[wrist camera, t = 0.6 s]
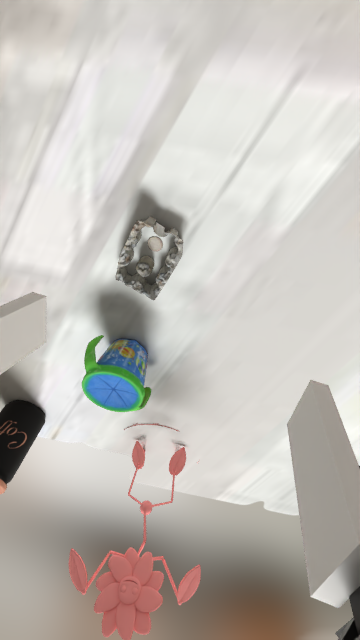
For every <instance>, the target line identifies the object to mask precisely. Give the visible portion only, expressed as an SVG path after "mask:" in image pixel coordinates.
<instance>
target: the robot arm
mask: <svg viewBox="0 0 360 640" xmlns="http://www.w3.org/2000/svg"><path fill="white" fill-rule="evenodd" d="M45 343H46V296H44V295H40V294H37V293H34V292H32V293H30V294H27V295H25V296H23V297H20V298H18V299H16V300H13V301H11V302H9V303H6V304H4V305H2V306H0V375H1V374H2V373H4V372H5V371H6V370H8V369H9V368H11V367H12V366H14V365H15V364H16V363H18V362H19V361H21V360H22V359H24V358H25V357H26V356H28V355H29V354H31V353H32V352H34V351H35V350H36V349H38V348H39V347H41V346H42V345H44V344H45ZM287 427H288V434H289V441H290V449H291V456H292V464H293V471H294V478H295V486H296V493H297V500H298V508H299V515H300V523H301V530H302V537H303V544H304V552H305V560H306V567H307V574H308V582H309V589H310V596H311V597H313V598H315V599H317V600H320V601H322V602H325V603H327V604H330V605H332V606H334V607H337V608H340V607H341V606H342V605H343V604H344V603H345V602H346V601H347V600H348V599H350V603H351V607H352V612H353V616H354V617H353V618H352V619H351V620H350V621H349V622H348V623H346V625H344V626H343V627H342V628H341V629H340V630H338V631H337V632H336V635H337V636H338V637H339V639H338V640H360V466H359V465H358V463H357V460H356V457H355V455H354V452H353V449H352V447H351V444H350V441H349V439H348V436H347V434H346V431H345V428H344V426H343V423H342V420H341V418H340V415H339V412H338V410H337V407H336V405H335V402H334V399H333V397H332V394H331V391H330V389H329V386H328V385H325V384H322V383H319V382H316V381H313V380H310V382H309V384H308V386H307V388H306V390H305V392H304V393H303V395H302V397H301V399H300V401H299V403H298V405H297V407H296V409H295V411H294V412H293V414H292V416H291V418H290V420H289V422H288V424H287Z"/></svg>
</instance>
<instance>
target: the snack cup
mask: <svg viewBox="0 0 360 640" xmlns="http://www.w3.org/2000/svg"><path fill="white" fill-rule="evenodd" d="M103 337H104V336H103V335H101V336H99V337H96V338H95V339H93V340H92V341H90V342H89V344H88V346H87V349H86V353H85V360H84V361H85V369H86V375H85V376H84V379H83V381H82V389H83V391H84V393H85V395H86V396H87V397H88V398H89V399H90V400H91V401H92V402H93V403H95V404H96V405H98V406H100V407H102V408H104V409H107V410H111V411H115V412H127V411H136V410H139V409H142V408H143V407H144V406H145V405H146V403H147V401H148V399H149V397H150V395H151V389H150V388H149V387H146V388H144V381H145V374H146V368H147V359H148V355H147V352H146V350H145V349H144V348H143V347H142V346H141V345H140V344H139V343H138V342H137V341H136V340H128V339H118V340H116V341H115V342H113V343H112V344H111V345H110V346H109V348H108V349H107V350H106V351H105V353H104V354H103V355H102V356H101V358H100V359H99V360H98V362H97V363H96V357H95V346H96V345H97V344H98V343H99V341H100V340H101V339H102V338H103Z"/></svg>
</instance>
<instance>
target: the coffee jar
mask: <svg viewBox="0 0 360 640" xmlns="http://www.w3.org/2000/svg"><path fill="white" fill-rule="evenodd" d="M44 423H45V415H44V413H43V411H42V410H41V409H40V408H38V407H37V406H35V405H34V404H32V403H29V402H26V401H21V400H16V401H13V402H10V403H8V404H7V405H5V407H4V408H3V409H2V411H1V412H0V494H2V493H4V492H5V490H6V488H7V483H8V482H10V481H11V480H12V478H13V476H14V475H15V473H16V471H17V470H18V468H19V466H20V464H21V463H22V461H23V459H24V457H25V456H26V454H27V452H28V451H29V449H30V447H31V446H32V444H33V442H34V440H35V439H36V437H37V435H38V434H39V432H40V430H41V428H42V427H43V425H44Z"/></svg>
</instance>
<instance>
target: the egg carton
mask: <svg viewBox="0 0 360 640" xmlns="http://www.w3.org/2000/svg"><path fill="white" fill-rule="evenodd" d="M144 226H147V227H153V229H154V232H155V233H156V234H157V235H158V236H160V237H165V236H167V235H168V234H172V235H174V236H175V244H176V245H177V247H173V248H171V249H170V250H169V252H168V255H167V257H166V261H165V263H166V265H167V266H163V267H162V268H161V269H160V271H159V273H158V275H157V277H156V283H155V284H153V285H150V284H148V282H147V280H146V278H145V276H149V275H150V274H151V271H152V269H153V267H154V261H153V259H152V258H151V257H149V256H143V257H142V258H141V259H140V260H139V262H138V263H137V265H136V270H137V272H138V273H136V274H134V275H133V276H130V275H128V274H127V269H126V267H125V266H126V265H128V264H129V263H130V261H131V260H132V258H133V256H134V252H133V250H132V248H133V247H135V246H136V244H137V243H138V241H139V240H140V238H141V231H140V230H141V228H142V227H144ZM147 244H148V247H149V248H150V250H152V251H160V250H161V249H162V247H163V243H162V241H161V239H160V238H158V237H151V238H149V240H148V243H147ZM182 252H183V240H182V239H179V237H178V231H177V230H175V229H174V228H171V229H170V230H169V231H167V232H165V227H163V226H162V225H160V224H158V223H156V219H155V218H153V217H151V216H150V217H149V218H148V219H147V220H144V221H142V220H140V221H137V223H135V225H134V227H133V229H132V231H131V233H130V235H129V238H128V240H127V242H126V244H125V246H124V248H123V250H122V252H121V255H120V257H119V262H118V268H117V273H116V280H118V281H119V280H120V281H122V282H124V283H125V285H126V286H129V287H132V288H133V289H134V290H136V291H138V292H139V293H141V294H145V295H146V296H147V297H149V298H150V299H152V300H155V298H156V297H157V296H158V294H159V293H160V291H161V290H162V288H163V286H164V285H165V283H166V282H167V280H168V279H169V277H170V275H171V274H172V272H173V270H174V269H175V267H176V266H177V264H178V262H179V260H180V259H181V256H182Z"/></svg>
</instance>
